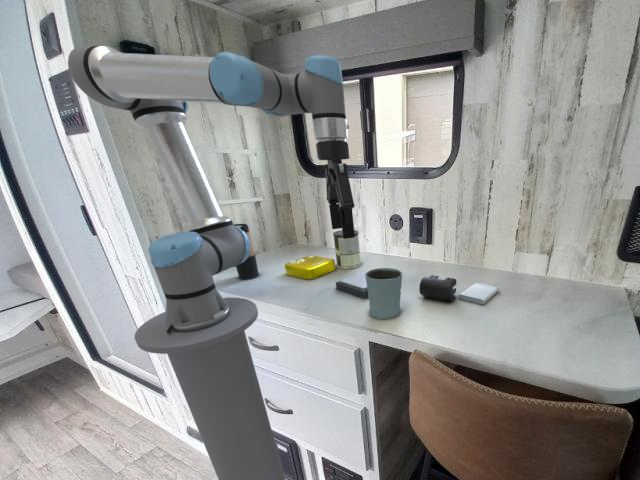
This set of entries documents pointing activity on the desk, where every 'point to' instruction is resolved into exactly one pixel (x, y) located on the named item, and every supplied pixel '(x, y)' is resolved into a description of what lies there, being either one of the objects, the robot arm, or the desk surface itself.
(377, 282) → the grey-blue cup
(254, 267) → the travel mug
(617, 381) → the desk surface
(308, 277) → the element tile
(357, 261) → the coffee can
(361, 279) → the scale
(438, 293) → the end cap
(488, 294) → the hard drive
